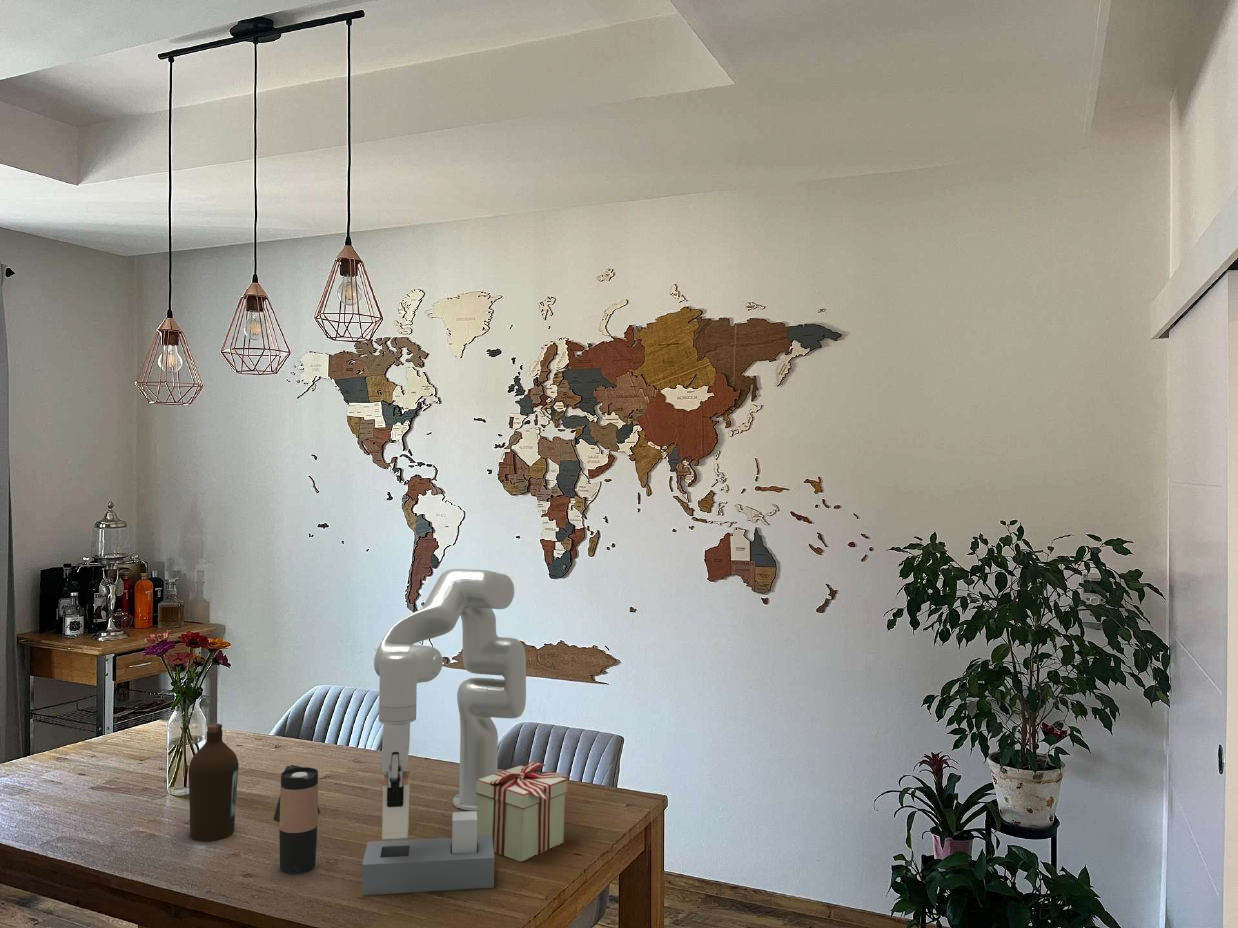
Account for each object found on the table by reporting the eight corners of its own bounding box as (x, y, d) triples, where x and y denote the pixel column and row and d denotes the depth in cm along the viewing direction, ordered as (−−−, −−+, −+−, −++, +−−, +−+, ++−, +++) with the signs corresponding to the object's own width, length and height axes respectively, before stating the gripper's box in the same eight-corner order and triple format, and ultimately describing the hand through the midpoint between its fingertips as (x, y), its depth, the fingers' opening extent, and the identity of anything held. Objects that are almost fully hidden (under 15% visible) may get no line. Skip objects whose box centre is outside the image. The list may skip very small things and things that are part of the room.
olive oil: (187, 845, 209) (190, 733, 210) (186, 829, 219) (188, 721, 219) (238, 838, 214) (241, 728, 215) (235, 822, 224) (237, 717, 224)
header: (491, 863, 202) (492, 804, 203) (493, 887, 191) (495, 824, 191) (367, 870, 198) (368, 809, 198) (361, 895, 186) (362, 831, 186)
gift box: (536, 867, 201) (537, 786, 201) (470, 848, 210) (471, 771, 211) (581, 842, 215) (582, 766, 215) (517, 825, 225) (518, 753, 225)
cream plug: (408, 828, 196) (409, 770, 196) (407, 837, 191) (408, 778, 191) (383, 829, 195) (384, 771, 195) (381, 839, 190) (382, 779, 190)
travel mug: (284, 860, 202) (286, 766, 203) (320, 859, 203) (322, 766, 203) (274, 875, 195) (276, 778, 195) (311, 874, 195) (313, 777, 196)
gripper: (382, 703, 201) (380, 788, 201) (375, 723, 185) (373, 817, 184) (417, 702, 203) (416, 787, 202) (414, 722, 186) (412, 815, 186)
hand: (395, 800), depth 193 cm, fingers closed on cream plug, 5 cm apart
